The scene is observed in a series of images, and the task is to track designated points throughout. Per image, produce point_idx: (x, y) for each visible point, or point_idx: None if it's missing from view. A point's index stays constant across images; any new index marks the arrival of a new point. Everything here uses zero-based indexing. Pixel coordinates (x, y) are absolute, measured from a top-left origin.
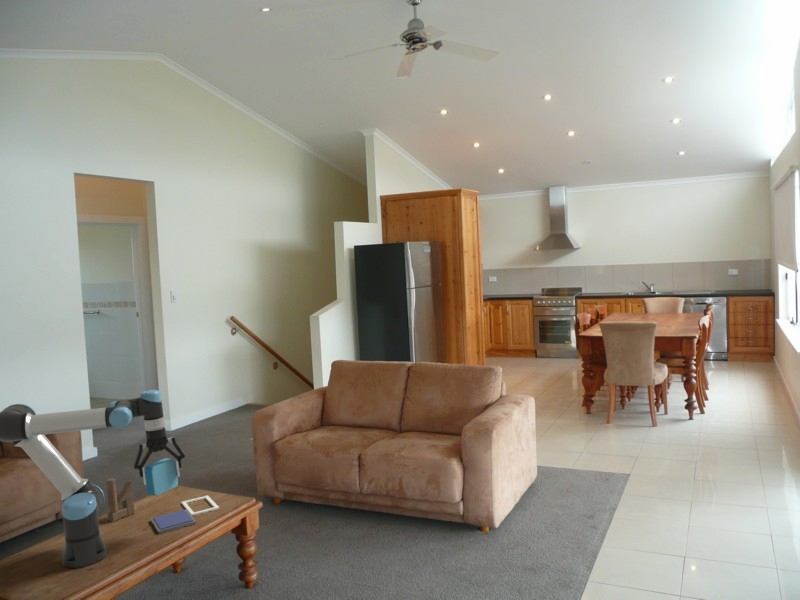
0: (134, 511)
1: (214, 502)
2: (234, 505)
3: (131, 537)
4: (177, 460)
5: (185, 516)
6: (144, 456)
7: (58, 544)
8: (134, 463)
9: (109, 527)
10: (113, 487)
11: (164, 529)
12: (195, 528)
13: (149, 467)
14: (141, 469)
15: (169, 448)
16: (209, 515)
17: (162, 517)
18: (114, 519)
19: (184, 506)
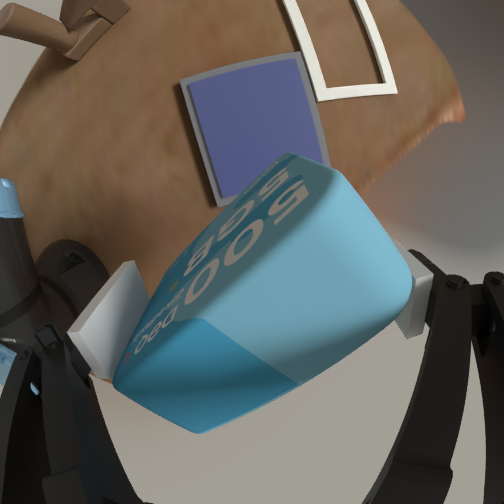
0: (129, 7)
1: (383, 46)
2: (429, 97)
3: (141, 196)
4: (426, 311)
5: (301, 126)
6: (48, 428)
7: (4, 176)
8: (13, 376)
9: (73, 97)
10: (23, 28)
11: None
12: None
13: (158, 414)
14: (86, 365)
15: (446, 452)
16: (368, 128)
17: (220, 95)
18: (78, 57)
19: (289, 15)
